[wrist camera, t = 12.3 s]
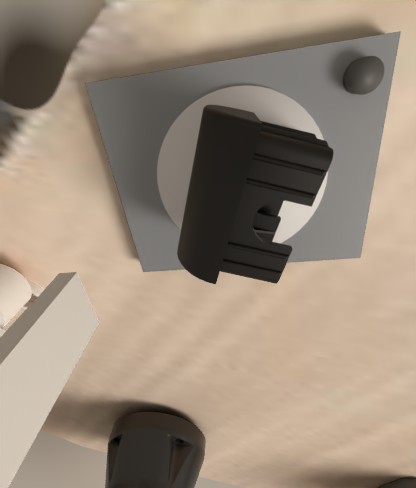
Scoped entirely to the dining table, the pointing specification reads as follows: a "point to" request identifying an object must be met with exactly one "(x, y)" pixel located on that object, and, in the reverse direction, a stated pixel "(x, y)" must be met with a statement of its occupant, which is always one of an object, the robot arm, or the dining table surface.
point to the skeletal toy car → (14, 294)
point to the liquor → (401, 483)
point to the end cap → (245, 193)
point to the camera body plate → (266, 109)
